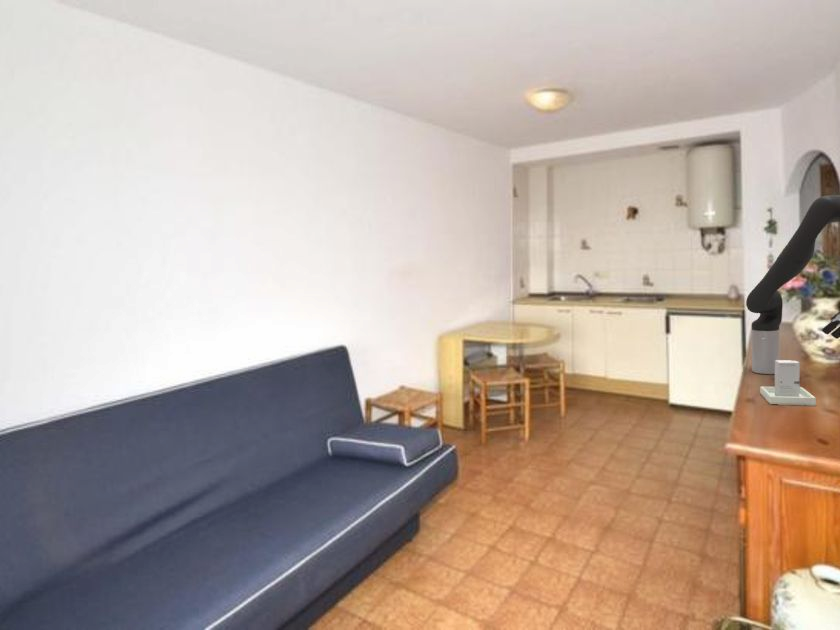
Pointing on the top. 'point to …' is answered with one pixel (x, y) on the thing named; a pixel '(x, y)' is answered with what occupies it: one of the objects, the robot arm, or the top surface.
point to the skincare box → (787, 378)
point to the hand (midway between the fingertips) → (828, 334)
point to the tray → (803, 398)
